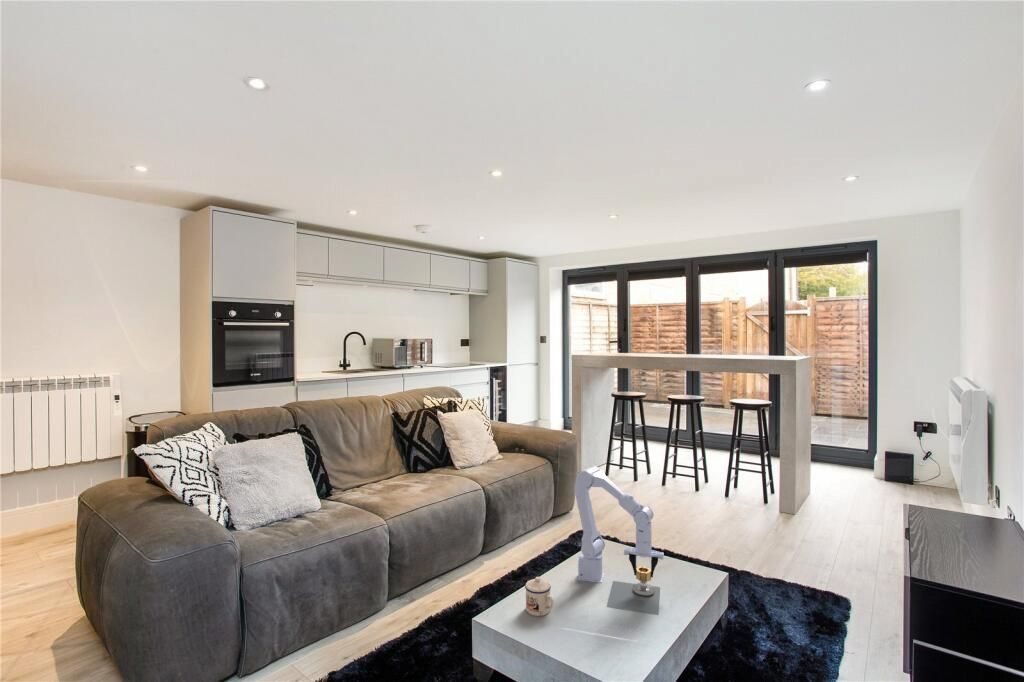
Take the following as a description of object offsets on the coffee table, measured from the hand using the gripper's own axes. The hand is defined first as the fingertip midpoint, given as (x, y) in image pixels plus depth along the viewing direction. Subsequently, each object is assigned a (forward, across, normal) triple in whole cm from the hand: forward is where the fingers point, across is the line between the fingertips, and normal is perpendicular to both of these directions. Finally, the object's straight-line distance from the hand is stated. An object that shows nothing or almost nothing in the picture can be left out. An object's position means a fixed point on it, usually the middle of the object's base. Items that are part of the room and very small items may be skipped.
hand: (643, 575), depth 199 cm
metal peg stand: (+6, 0, 0) cm, 6 cm away
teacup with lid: (+7, -34, -24) cm, 42 cm away
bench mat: (+7, -3, -5) cm, 9 cm away
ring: (+1, 0, 0) cm, 1 cm away
